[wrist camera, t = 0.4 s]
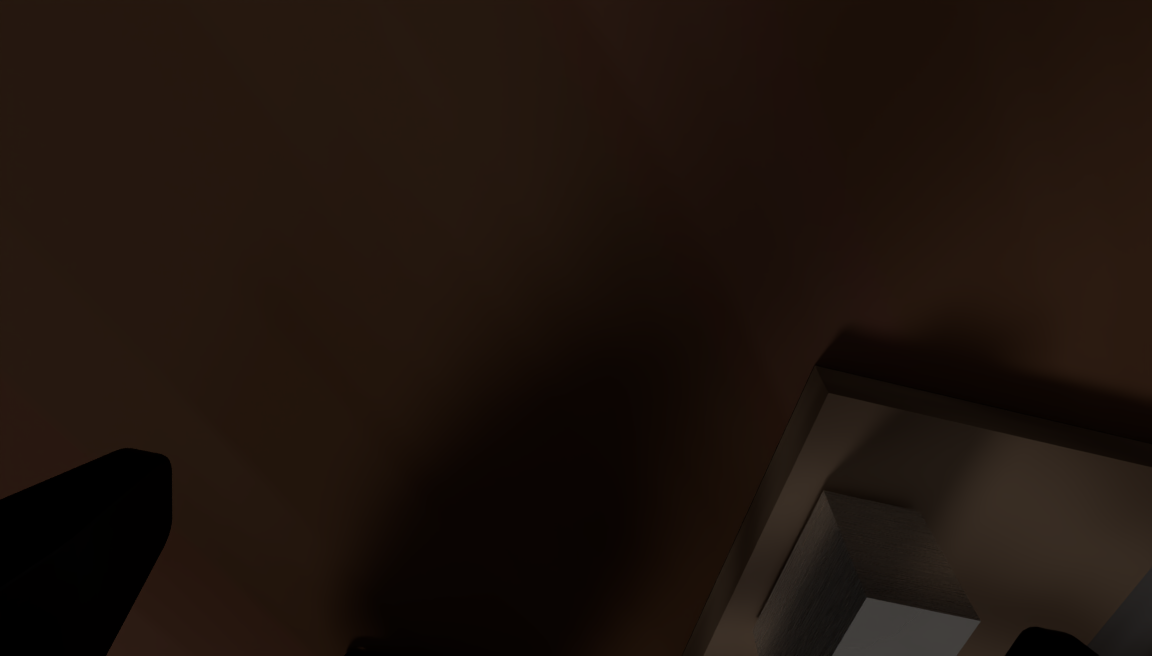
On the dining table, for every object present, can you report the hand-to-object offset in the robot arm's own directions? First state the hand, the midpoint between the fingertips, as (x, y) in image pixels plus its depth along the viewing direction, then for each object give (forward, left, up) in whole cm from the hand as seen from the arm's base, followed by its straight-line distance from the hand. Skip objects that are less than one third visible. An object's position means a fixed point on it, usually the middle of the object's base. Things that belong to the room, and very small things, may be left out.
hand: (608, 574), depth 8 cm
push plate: (-11, -10, -12) cm, 19 cm away
